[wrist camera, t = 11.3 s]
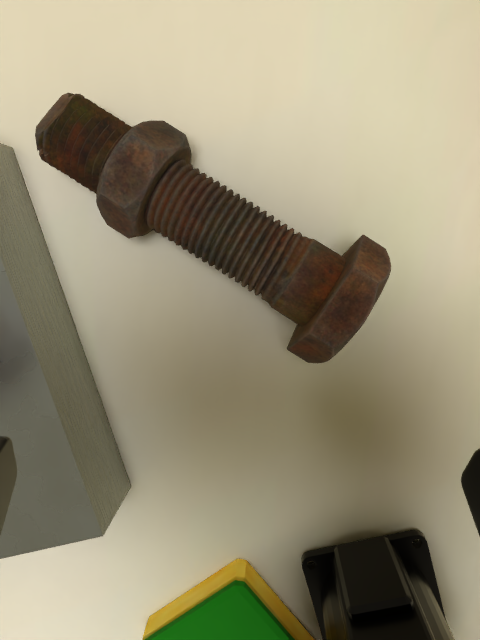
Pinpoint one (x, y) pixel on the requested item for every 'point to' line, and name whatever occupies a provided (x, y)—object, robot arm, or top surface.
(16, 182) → the hole plate
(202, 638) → the dish sponge
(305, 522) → the top surface
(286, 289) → the bolt
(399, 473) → the top surface
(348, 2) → the top surface
